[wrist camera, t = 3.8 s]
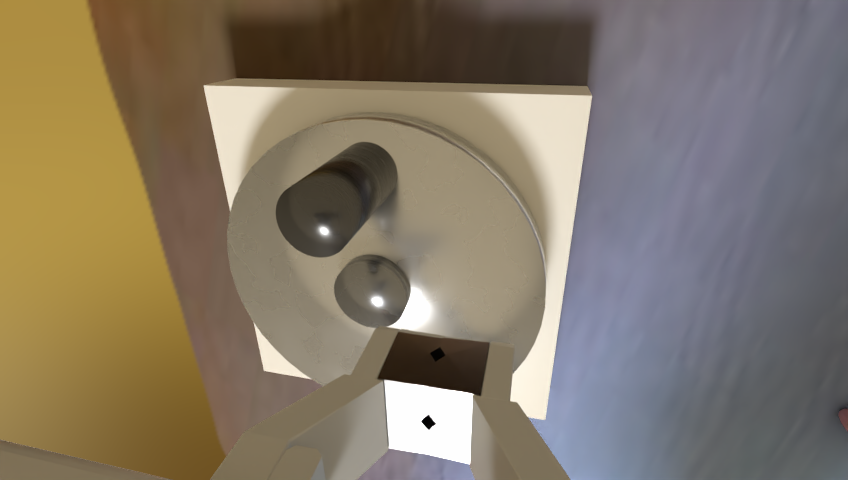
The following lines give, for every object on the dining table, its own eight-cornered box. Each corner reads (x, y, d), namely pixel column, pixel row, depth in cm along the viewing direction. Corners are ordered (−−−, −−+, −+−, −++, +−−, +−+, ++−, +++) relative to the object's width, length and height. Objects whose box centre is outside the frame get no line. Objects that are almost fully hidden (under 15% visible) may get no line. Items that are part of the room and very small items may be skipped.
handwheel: (530, 409, 29) (523, 535, 22) (272, 365, 33) (197, 459, 26) (566, 119, 21) (574, 172, 14) (220, 106, 25) (93, 143, 18)
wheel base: (587, 86, 23) (592, 96, 20) (545, 386, 32) (545, 423, 29) (231, 78, 28) (194, 86, 25) (281, 344, 37) (258, 372, 34)
